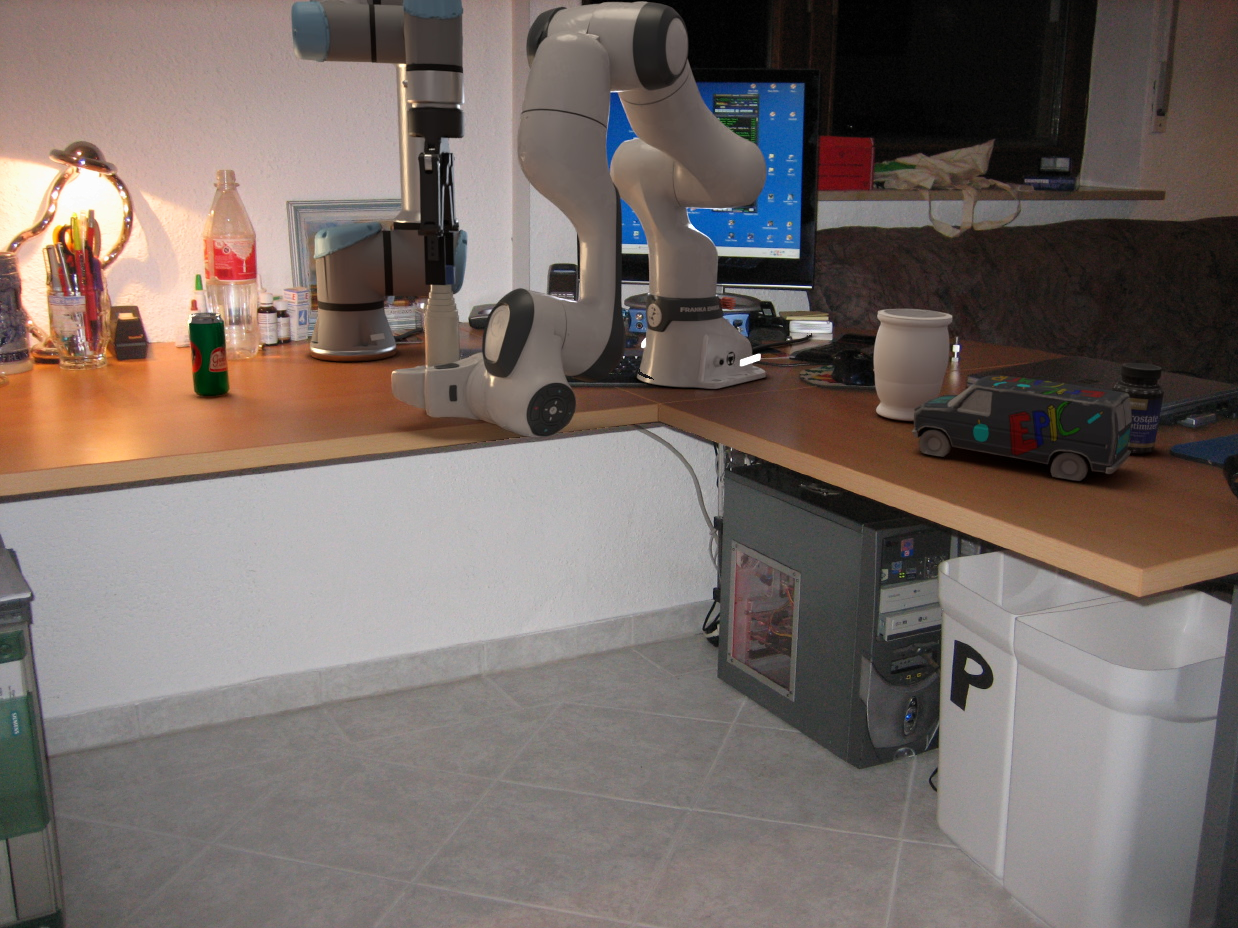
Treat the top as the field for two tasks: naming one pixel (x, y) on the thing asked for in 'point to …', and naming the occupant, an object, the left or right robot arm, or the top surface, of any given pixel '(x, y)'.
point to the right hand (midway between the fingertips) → (439, 369)
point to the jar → (909, 359)
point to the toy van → (1031, 424)
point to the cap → (450, 274)
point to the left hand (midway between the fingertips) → (440, 281)
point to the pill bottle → (1142, 403)
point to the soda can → (208, 354)
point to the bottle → (441, 327)
